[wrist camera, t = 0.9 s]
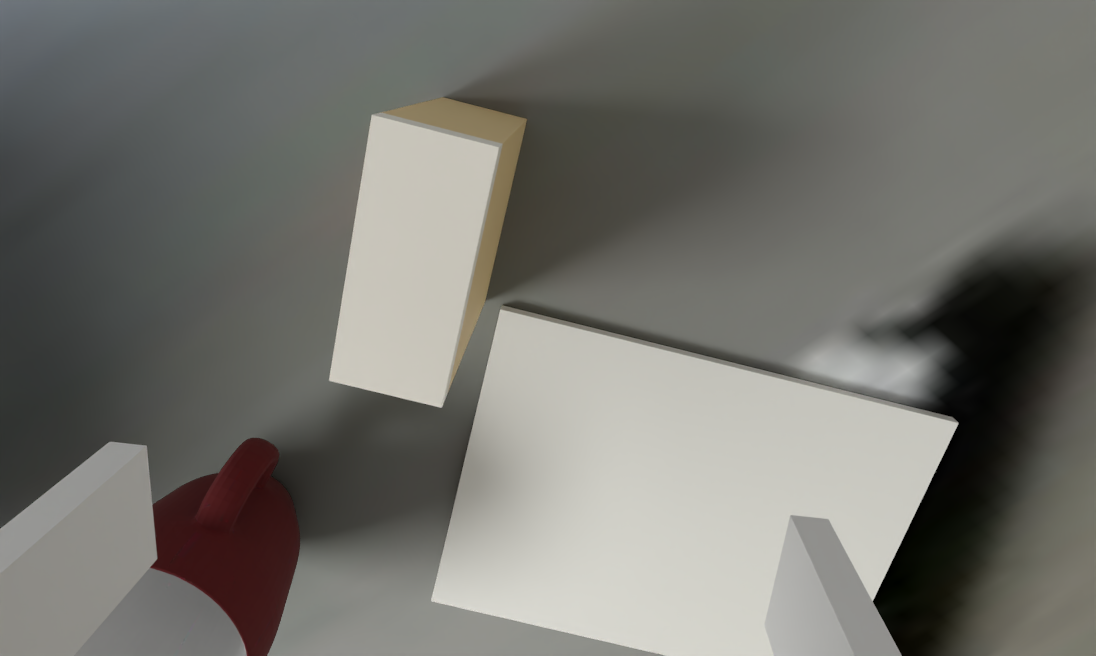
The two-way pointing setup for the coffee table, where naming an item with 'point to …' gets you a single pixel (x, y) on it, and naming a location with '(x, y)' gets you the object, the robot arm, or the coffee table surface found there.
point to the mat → (665, 487)
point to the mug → (212, 567)
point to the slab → (423, 245)
